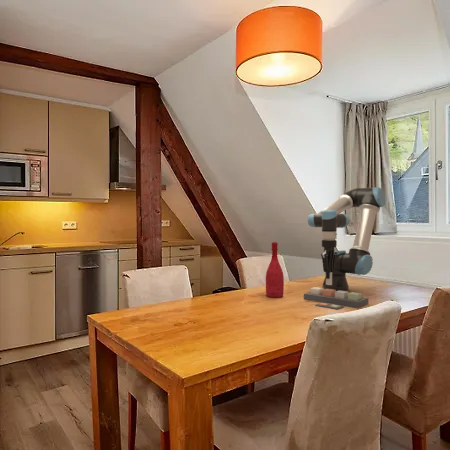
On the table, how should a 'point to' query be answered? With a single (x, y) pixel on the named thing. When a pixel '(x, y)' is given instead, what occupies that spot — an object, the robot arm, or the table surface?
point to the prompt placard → (329, 306)
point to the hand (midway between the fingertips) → (328, 284)
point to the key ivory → (316, 290)
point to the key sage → (354, 296)
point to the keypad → (336, 300)
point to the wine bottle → (274, 276)
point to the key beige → (341, 294)
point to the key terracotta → (328, 292)
